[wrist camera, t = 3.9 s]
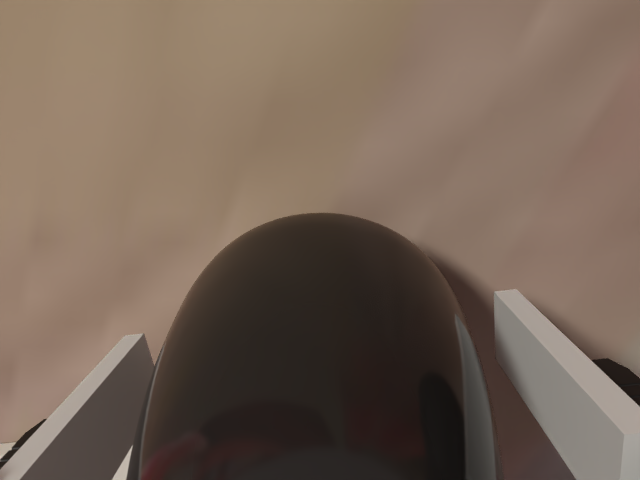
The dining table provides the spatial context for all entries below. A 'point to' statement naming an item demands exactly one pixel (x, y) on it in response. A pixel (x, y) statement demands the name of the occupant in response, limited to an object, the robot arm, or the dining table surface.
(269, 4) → the dining table surface
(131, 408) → the robot arm
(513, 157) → the dining table surface
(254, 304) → the pump dispenser
